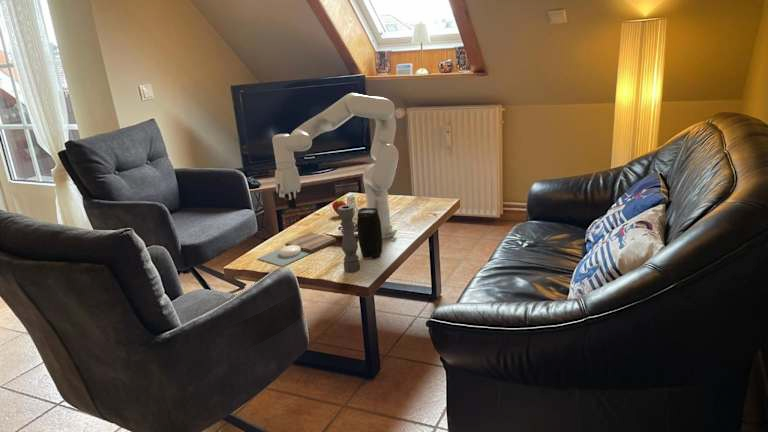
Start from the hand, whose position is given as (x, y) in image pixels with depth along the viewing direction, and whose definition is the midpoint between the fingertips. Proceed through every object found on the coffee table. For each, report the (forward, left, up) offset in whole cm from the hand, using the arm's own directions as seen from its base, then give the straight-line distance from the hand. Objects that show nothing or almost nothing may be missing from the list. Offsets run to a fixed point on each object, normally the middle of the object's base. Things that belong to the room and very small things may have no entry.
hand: (292, 207), depth 231 cm
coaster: (0, +5, -19) cm, 19 cm away
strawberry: (+16, -43, -19) cm, 50 cm away
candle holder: (-35, +4, -19) cm, 40 cm away
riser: (0, -8, -19) cm, 21 cm away
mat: (0, +8, -19) cm, 21 cm away
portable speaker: (-33, -10, -19) cm, 39 cm away
